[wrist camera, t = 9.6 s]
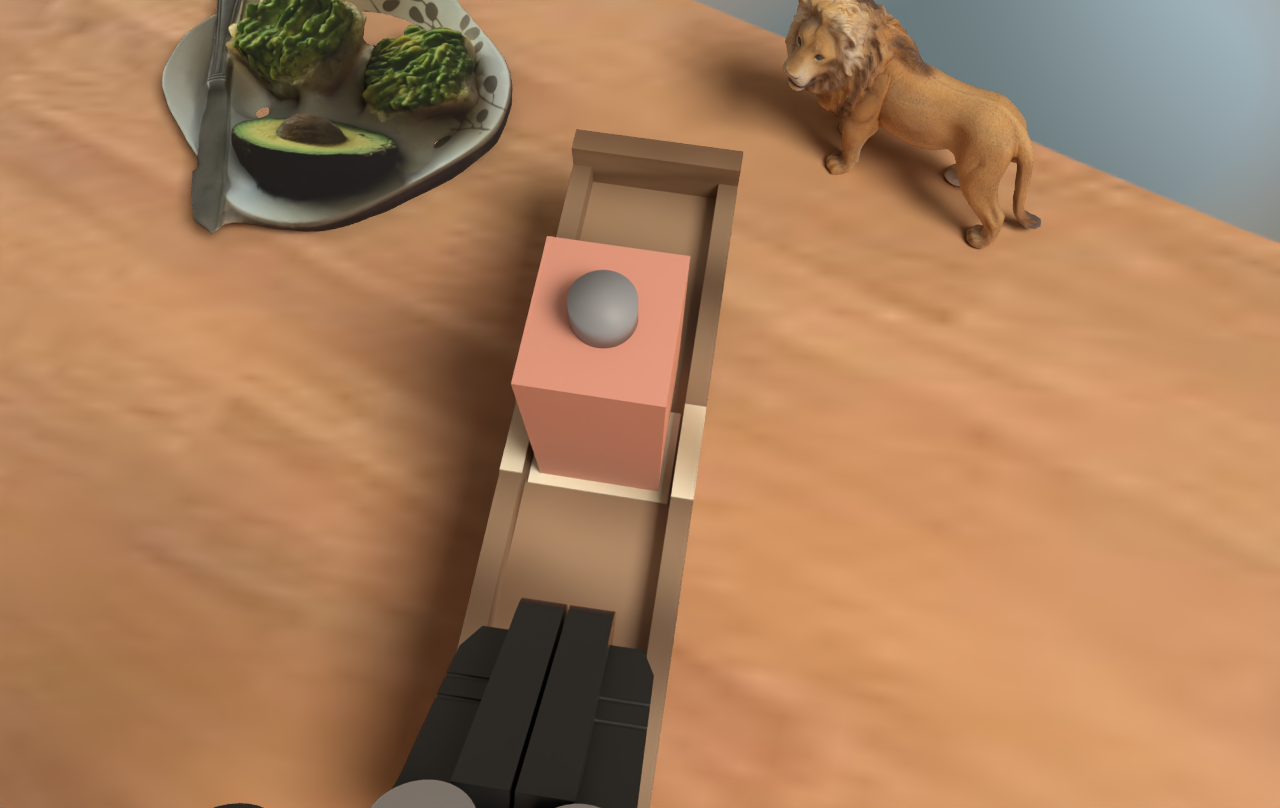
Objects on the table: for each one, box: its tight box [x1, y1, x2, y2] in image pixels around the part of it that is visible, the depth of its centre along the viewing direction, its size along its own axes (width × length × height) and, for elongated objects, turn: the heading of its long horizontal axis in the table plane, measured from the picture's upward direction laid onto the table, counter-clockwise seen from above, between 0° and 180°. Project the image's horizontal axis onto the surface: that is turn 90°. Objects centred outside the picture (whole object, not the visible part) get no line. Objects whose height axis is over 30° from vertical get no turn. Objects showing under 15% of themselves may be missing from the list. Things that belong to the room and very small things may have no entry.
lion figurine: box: [783, 0, 1041, 248], centre depth 39 cm, size 15×5×9 cm, turn 64°
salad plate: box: [162, 0, 512, 234], centre depth 43 cm, size 19×18×5 cm
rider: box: [511, 236, 690, 491], centre depth 27 cm, size 5×4×9 cm
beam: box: [457, 129, 743, 808], centre depth 32 cm, size 28×7×8 cm, turn 171°
